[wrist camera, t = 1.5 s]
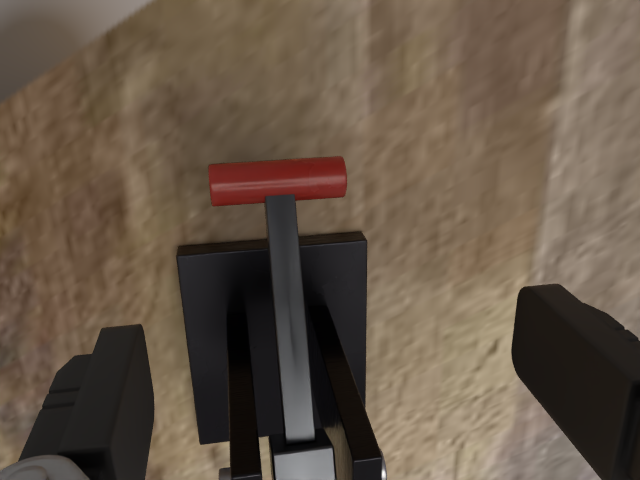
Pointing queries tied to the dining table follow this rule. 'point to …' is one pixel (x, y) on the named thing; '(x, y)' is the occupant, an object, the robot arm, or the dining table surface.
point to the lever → (287, 295)
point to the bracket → (261, 355)
